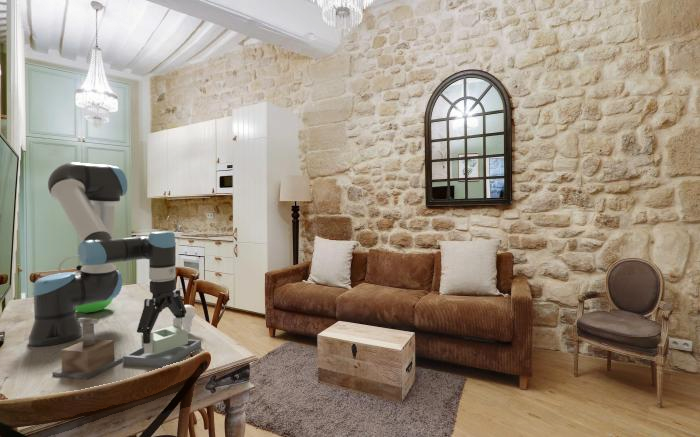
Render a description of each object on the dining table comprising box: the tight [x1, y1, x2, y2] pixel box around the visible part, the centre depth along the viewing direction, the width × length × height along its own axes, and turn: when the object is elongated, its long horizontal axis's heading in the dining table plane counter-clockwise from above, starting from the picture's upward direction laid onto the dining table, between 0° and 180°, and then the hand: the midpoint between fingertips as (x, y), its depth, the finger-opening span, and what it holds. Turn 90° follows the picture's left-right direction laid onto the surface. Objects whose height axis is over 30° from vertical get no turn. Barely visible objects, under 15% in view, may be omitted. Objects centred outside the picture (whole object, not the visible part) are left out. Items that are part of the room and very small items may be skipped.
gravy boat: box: [76, 298, 114, 314], centre depth 162 cm, size 18×17×15 cm
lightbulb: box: [181, 304, 196, 334], centre depth 135 cm, size 6×6×11 cm
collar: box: [140, 325, 189, 354], centre depth 115 cm, size 10×10×4 cm
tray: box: [122, 338, 202, 369], centre depth 115 cm, size 16×16×2 cm
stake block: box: [52, 317, 123, 380], centre depth 106 cm, size 12×12×15 cm
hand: (164, 344), depth 115 cm, fingers closed on collar, 13 cm apart
